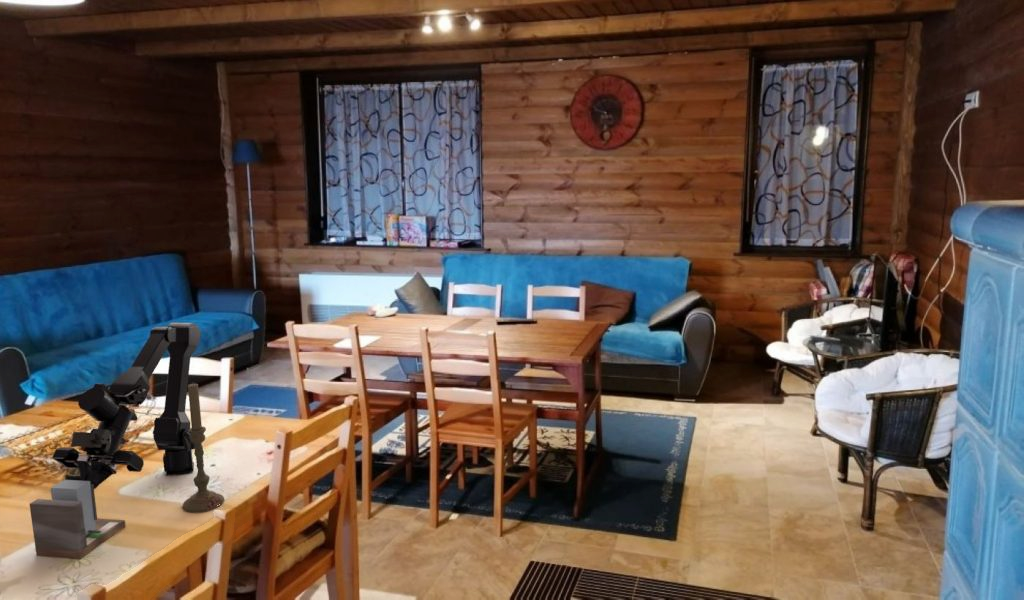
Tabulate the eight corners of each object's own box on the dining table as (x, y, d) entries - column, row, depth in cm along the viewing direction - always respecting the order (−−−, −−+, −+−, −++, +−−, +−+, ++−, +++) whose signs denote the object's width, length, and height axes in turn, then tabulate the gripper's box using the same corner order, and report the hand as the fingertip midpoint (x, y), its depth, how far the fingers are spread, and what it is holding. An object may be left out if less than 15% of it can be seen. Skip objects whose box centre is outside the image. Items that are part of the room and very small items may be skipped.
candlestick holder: (198, 515, 168) (187, 389, 163) (174, 506, 173) (162, 383, 167) (232, 500, 176) (222, 379, 170) (208, 492, 180) (197, 374, 175)
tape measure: (93, 488, 183) (91, 474, 183) (62, 492, 181) (60, 478, 181) (99, 478, 190) (98, 464, 189) (69, 481, 188) (68, 467, 187)
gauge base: (84, 523, 165) (78, 475, 163) (125, 526, 163) (120, 477, 161) (36, 555, 151) (29, 503, 149) (80, 559, 150) (73, 506, 148)
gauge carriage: (71, 526, 160) (65, 478, 158) (108, 528, 158) (103, 480, 157) (55, 536, 155) (49, 487, 153) (93, 538, 154) (87, 489, 152)
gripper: (52, 413, 162) (19, 480, 153) (130, 416, 159) (100, 485, 150) (82, 434, 171) (52, 499, 162) (155, 437, 168) (129, 504, 160)
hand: (82, 496), depth 158 cm, fingers closed, pressing on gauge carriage
